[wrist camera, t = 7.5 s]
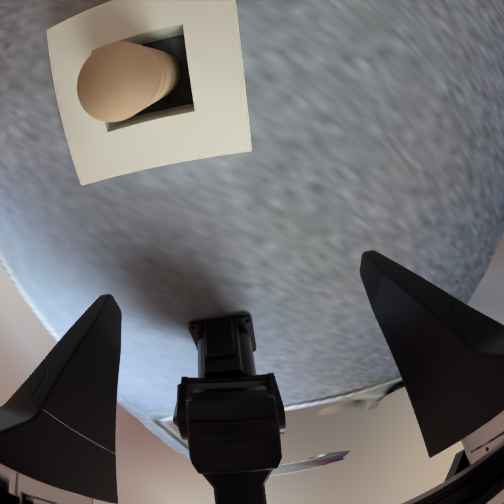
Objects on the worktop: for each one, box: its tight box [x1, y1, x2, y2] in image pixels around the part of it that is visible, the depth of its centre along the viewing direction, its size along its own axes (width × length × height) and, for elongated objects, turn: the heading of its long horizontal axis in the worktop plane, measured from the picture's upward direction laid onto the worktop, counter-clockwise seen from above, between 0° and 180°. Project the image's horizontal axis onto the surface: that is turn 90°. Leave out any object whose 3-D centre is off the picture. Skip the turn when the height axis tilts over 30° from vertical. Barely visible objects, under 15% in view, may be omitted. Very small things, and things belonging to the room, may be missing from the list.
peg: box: [77, 41, 182, 122], centre depth 11 cm, size 3×3×8 cm
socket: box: [47, 0, 252, 186], centre depth 12 cm, size 10×10×4 cm
